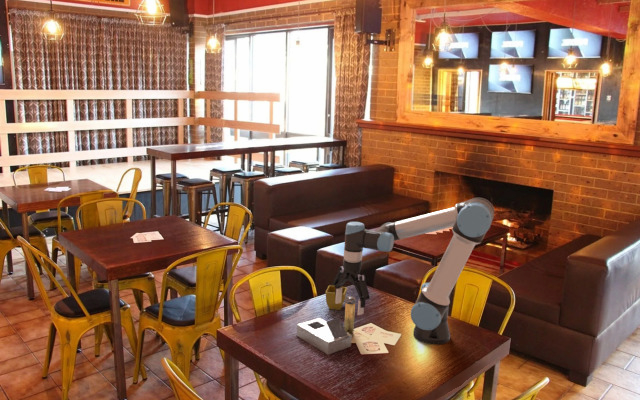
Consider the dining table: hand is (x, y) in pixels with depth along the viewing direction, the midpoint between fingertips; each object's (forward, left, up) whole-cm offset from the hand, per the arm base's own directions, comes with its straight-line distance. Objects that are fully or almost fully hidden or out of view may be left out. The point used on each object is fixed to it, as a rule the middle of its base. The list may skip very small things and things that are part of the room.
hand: (349, 308), depth 236 cm
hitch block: (+1, +13, -11) cm, 17 cm away
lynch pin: (0, 0, -11) cm, 11 cm away
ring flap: (-7, +13, -4) cm, 15 cm away
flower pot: (+24, -14, -12) cm, 30 cm away
